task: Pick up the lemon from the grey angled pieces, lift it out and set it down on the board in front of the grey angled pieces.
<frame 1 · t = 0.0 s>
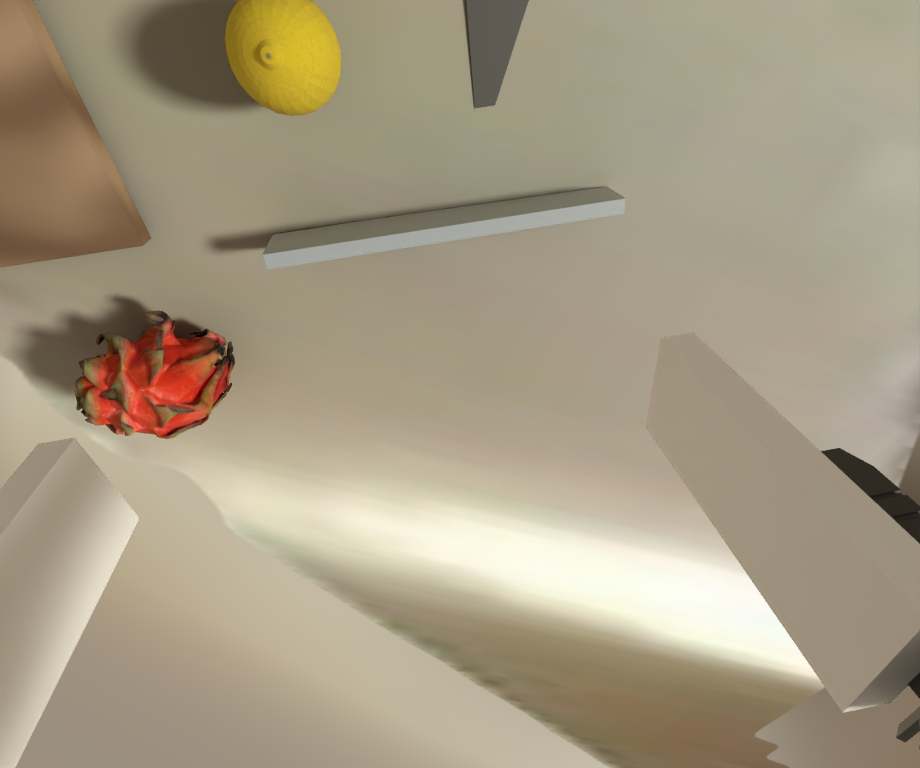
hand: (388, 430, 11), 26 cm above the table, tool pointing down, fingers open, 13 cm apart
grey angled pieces: (418, 38, 29), on the table
lemon: (301, 54, 28), on the table
dragon fruit: (181, 350, 38), on the table
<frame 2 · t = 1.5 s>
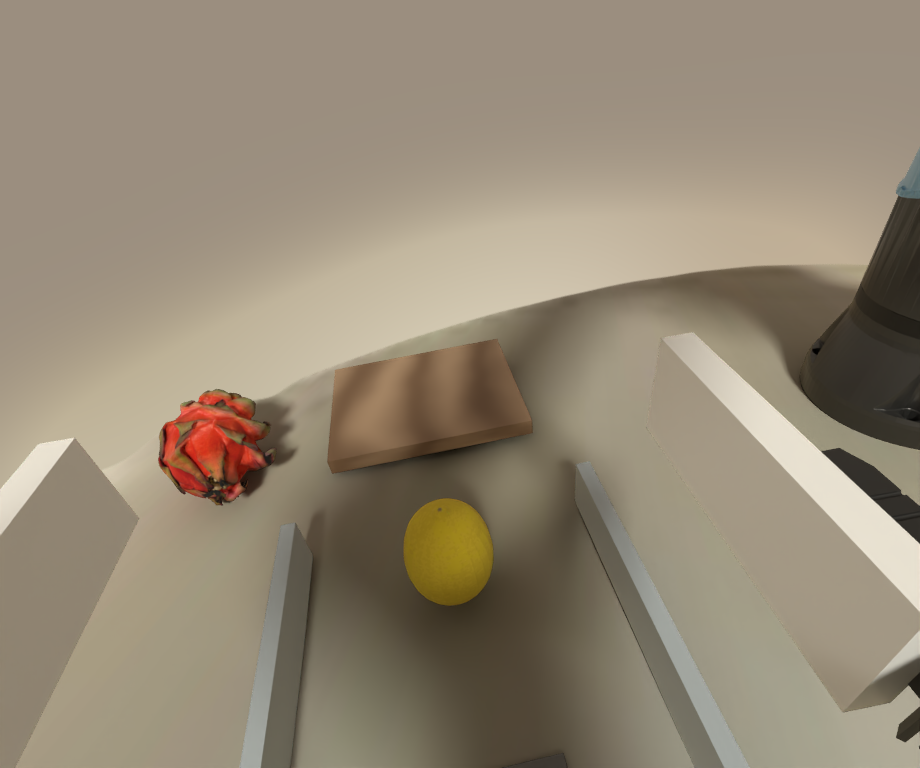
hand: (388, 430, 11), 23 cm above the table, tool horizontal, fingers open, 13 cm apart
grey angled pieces: (475, 706, 26), on the table
board: (425, 404, 48), on the table
lemon: (456, 590, 32), on the table
dragon fruit: (235, 478, 43), on the table
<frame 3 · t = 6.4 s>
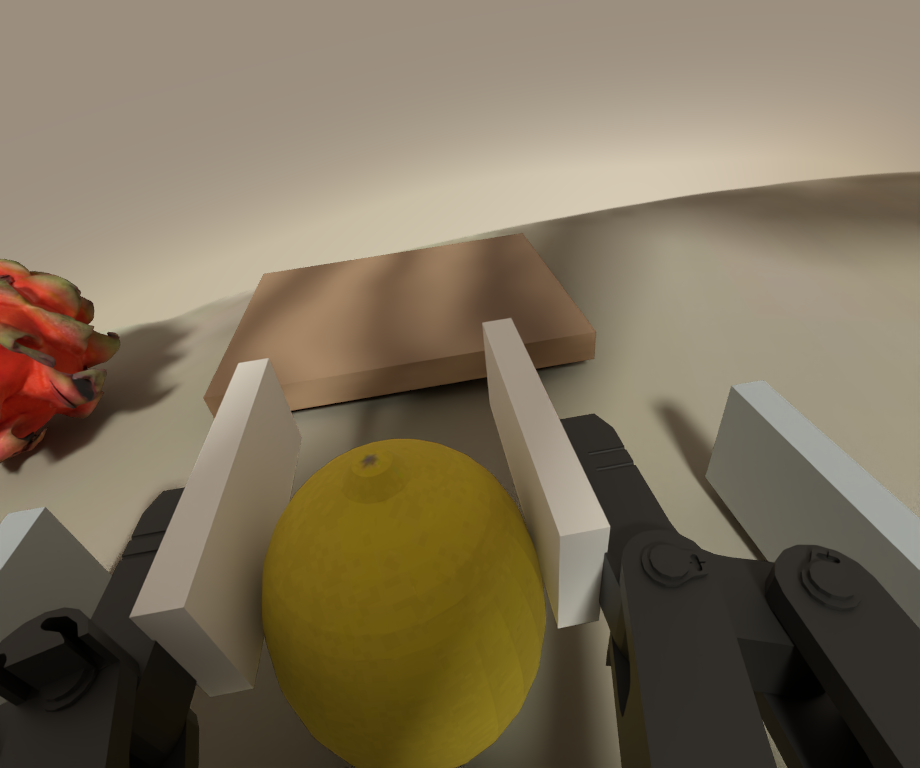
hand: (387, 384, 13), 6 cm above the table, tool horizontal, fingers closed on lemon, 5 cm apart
board: (402, 320, 28), on the table
lemon: (437, 694, 12), on the table, touching gripper
dragon fruit: (45, 430, 24), on the table
when the fingers open (9 cm above the table, at t = 11.3 s): lemon drops 1 cm, resting on board.
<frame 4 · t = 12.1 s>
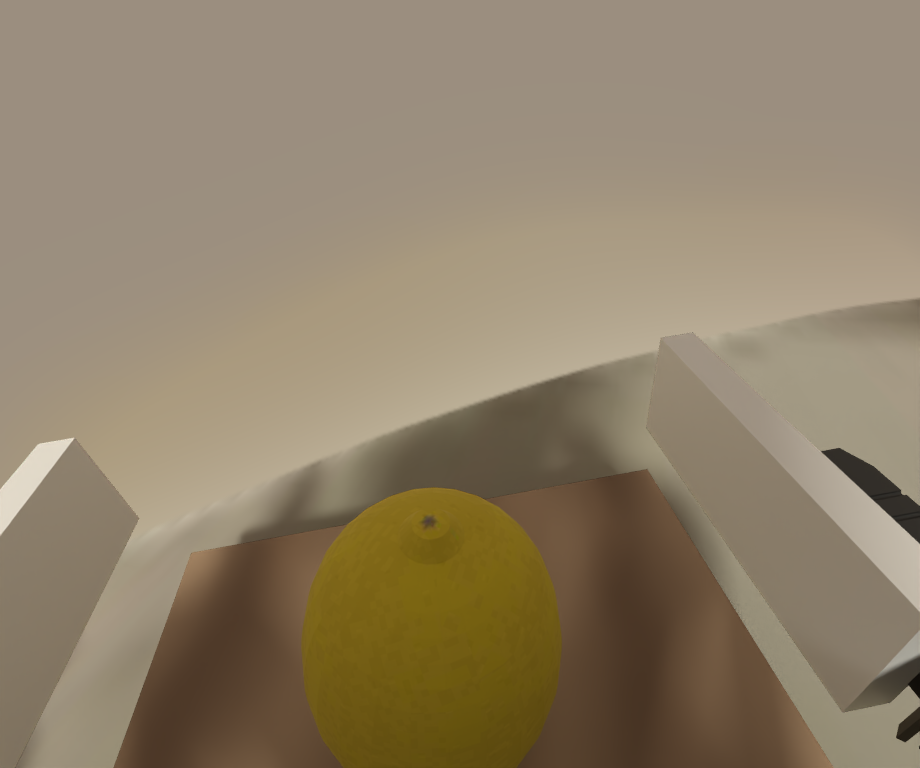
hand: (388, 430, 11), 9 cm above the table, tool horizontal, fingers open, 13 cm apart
board: (450, 732, 14), on the table
lemon: (435, 717, 13), point 1 cm above the table, touching board
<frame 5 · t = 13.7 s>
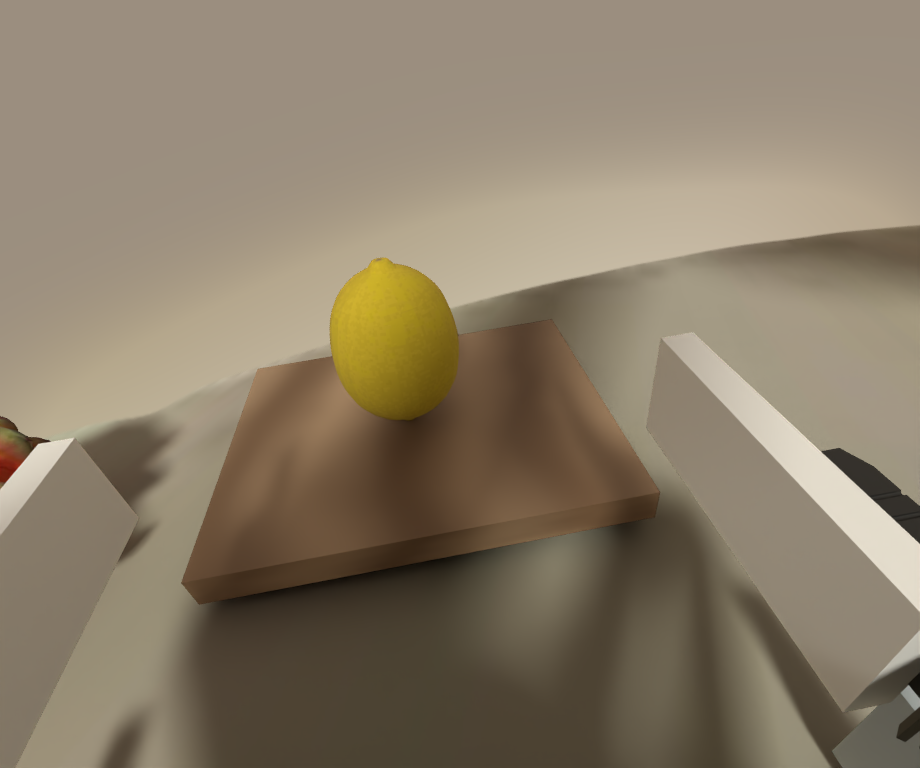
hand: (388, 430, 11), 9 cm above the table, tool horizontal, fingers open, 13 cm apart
board: (419, 439, 24), on the table
lemon: (410, 421, 24), point 1 cm above the table, touching board
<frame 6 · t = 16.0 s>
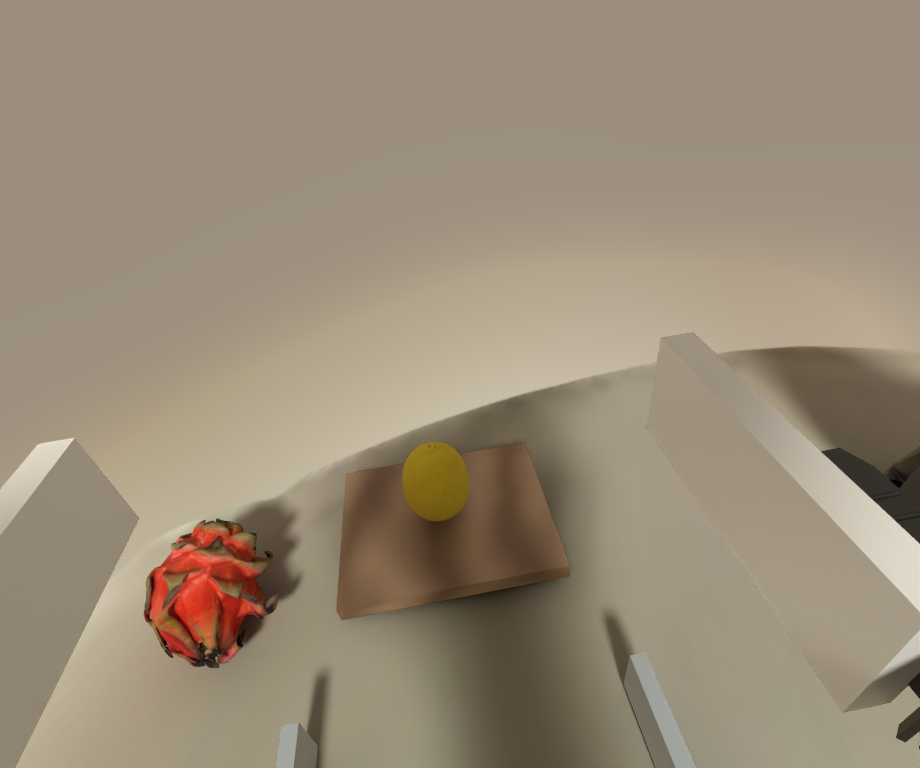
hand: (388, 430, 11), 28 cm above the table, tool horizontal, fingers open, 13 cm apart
board: (446, 524, 43), on the table
lemon: (441, 516, 42), point 1 cm above the table, touching board
dragon fruit: (231, 618, 38), on the table
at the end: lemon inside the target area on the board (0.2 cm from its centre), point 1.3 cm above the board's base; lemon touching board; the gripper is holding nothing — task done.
